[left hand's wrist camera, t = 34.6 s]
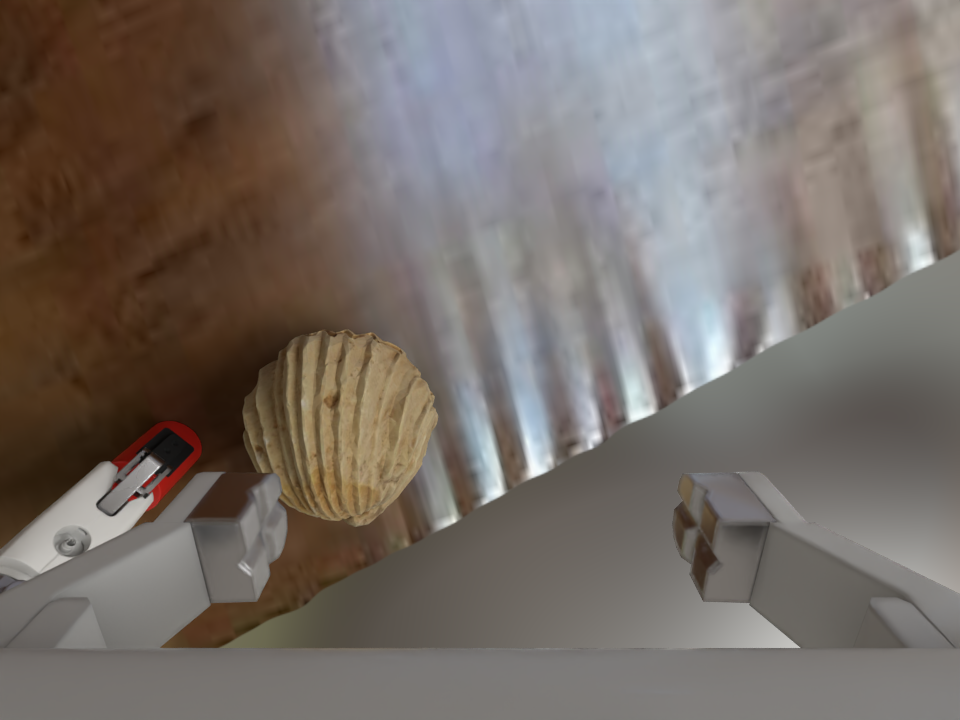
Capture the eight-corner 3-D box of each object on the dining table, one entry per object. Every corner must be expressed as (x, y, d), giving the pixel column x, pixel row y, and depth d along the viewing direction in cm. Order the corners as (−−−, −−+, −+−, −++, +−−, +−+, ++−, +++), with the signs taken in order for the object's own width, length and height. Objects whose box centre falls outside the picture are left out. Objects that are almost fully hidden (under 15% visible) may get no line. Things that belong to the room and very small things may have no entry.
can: (213, 447, 51) (173, 492, 45) (178, 475, 52) (134, 522, 46) (171, 410, 50) (123, 450, 43) (136, 440, 51) (84, 483, 44)
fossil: (303, 479, 52) (238, 597, 38) (257, 314, 46) (159, 384, 32) (452, 465, 52) (442, 580, 38) (426, 296, 45) (402, 359, 31)
